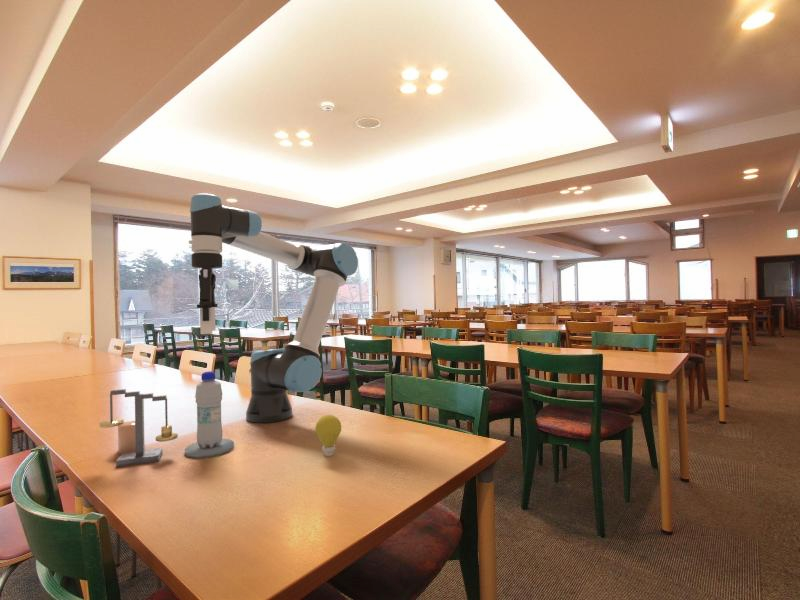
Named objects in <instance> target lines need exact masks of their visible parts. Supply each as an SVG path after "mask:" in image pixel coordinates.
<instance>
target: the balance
mask: <svg viewBox="0 0 800 600" xmlns="http://www.w3.org/2000/svg"><path fill="white" fill-rule="evenodd" d="M117 395H124V398H132V397H134V421H135V437H136V451H132V452H124V453H120V455H119V456H118V457H117V459H116V461H115V467H116V468H119V467H127V466H134V465H136V466H137V465H142V464H149V463H150V464H151V463H157V462H159V461H160V459H161V457H162V455H163V451H164V450H163V447H158V448H149V449H145V403H144V402H145V400H146V399H152V400H151V401H152V402H159V401H164V405H165V406H164V408H165V409H164V411H165V413H164V415H165V425H163V426H161V428H160V429H161V430H160V431H161V433H160V434H159V435H157V436H155V441H156V442H160V443H161V442H169V441H173V440H176V439H178V437H179V433H176V432H173V425H171V424H168V422H169V421H168V397H167V394H165V395H164V394H162V395H154V392H153V393H152V392H151V393H141V391H140V390H137V391H127V389H126V388H125V389H122V388H121V389H111V390H110V392H109V406H110V407H109V410H110V411H109V413H110V415H109V417H110V419H109V420H105V421H102V422H100V423H99V425H98V426H99V427H100V428H114V427H118V426H119V425H121V424H123V423H124V422H125V421H124V420H125V419H121V418H119V419H118V418H115V419H114V417H113V415H114V414H113V411H114V410H113V408H114V407H113V403H114V402H113V396H117Z"/></svg>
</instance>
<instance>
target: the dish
mask: <svg viewBox="0 0 800 600" xmlns="http://www.w3.org/2000/svg"><path fill="white" fill-rule="evenodd" d="M234 447H235V441H234V440H232V439H229V438H222V441H221V443H220V444H219V445H218V446H215V444H214V446H213V448H210V446H209V445H207V446H206V448H205V449H204V448H201V447H199V446H198V444H197V441H195V442H194V443H191V444H189V445H188V446H186V447H185V448H184V455H185V456H186V457H188V458H192V459H206V458H207V459H208V458H213V457H218V456H221V455H224V454H227V453H229V452H230V451H232V450H233V449H234Z"/></svg>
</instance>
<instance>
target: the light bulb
mask: <svg viewBox="0 0 800 600" xmlns="http://www.w3.org/2000/svg"><path fill="white" fill-rule="evenodd" d="M314 431H315V434H316V435H317V439H318V440H319V441H320V442H321V443H322V444H323V445H322V452H323V454H324V456H326V457H329V456H333V455H334V451H336V445H335V443H336V442H337V440H338V438H339V436H340V433H341V431H342V424H341V421H340V419H339V418H338V417H336V416H335V415H333V414H326V415H323V416H321V417H320V418H319V419H318V420H317V422H316V424H315V427H314Z"/></svg>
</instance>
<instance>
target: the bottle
mask: <svg viewBox="0 0 800 600" xmlns="http://www.w3.org/2000/svg"><path fill="white" fill-rule="evenodd" d="M194 398H195V404H196V416H197V417H196V419H197V420H196V421H197V422H196V423H197V425H196V426H197V428H196V442H197V444H198V446H199V447H201V448H204V449H205V448H206V446H207V445H209V446H210V448H213V446H214V444H215V446H218V445H219V444H220V443H221V441H222V439H223V426H222V400H223V390H222V383H221V382H220V381H217V380H216V373H215V372H214V371H204V372H202V373H201V382H199V383H198V384H196V387H195V396H194Z"/></svg>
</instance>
